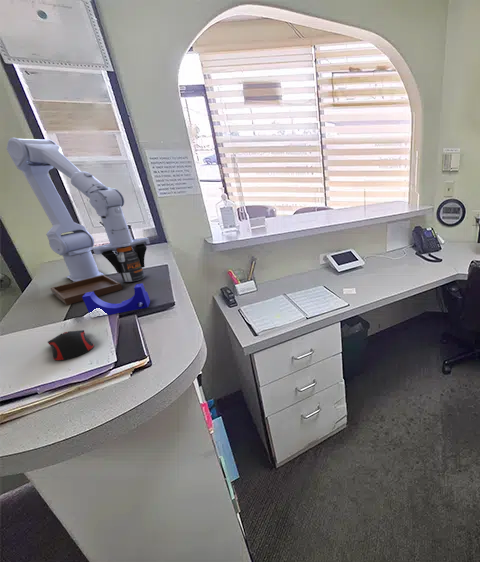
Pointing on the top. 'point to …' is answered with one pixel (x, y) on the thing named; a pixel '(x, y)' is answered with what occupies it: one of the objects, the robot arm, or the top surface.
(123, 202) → the robot arm
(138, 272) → the pill bottle
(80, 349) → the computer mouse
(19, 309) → the top surface
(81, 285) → the desk tray
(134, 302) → the blue curved cradle
